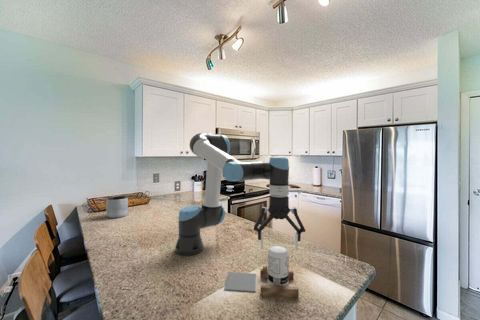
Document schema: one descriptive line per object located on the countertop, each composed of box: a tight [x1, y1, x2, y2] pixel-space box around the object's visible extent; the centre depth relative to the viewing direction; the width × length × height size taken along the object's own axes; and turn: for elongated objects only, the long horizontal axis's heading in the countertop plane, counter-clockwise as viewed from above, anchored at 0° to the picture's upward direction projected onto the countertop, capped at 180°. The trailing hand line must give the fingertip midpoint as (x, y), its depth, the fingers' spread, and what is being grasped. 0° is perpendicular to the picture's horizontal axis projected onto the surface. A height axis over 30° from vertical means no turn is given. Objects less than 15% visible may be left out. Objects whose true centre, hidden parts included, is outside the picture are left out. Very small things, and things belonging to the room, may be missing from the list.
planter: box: [105, 195, 129, 219], centre depth 180 cm, size 16×16×16 cm
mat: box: [223, 271, 257, 293], centre depth 88 cm, size 12×12×1 cm
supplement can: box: [267, 244, 290, 287], centre depth 85 cm, size 8×8×15 cm
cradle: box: [259, 264, 300, 299], centre depth 85 cm, size 14×13×4 cm
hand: (278, 248), depth 85 cm, fingers open, 13 cm apart
